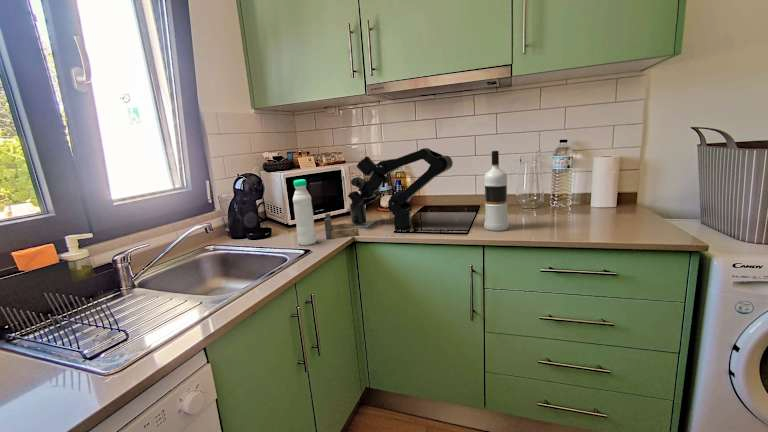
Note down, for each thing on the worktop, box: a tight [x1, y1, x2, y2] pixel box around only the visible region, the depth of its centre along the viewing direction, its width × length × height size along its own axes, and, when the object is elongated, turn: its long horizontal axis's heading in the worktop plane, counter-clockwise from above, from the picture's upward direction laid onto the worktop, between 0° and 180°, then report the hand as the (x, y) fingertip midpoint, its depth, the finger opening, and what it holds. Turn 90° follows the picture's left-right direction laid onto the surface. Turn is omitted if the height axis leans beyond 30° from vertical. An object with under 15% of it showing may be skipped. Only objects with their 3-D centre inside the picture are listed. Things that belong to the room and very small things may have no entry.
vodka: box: [483, 150, 510, 232], centre depth 142 cm, size 9×9×30 cm
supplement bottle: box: [349, 202, 367, 224], centre depth 169 cm, size 7×7×12 cm
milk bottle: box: [292, 178, 317, 246], centre depth 144 cm, size 7×7×25 cm
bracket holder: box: [323, 212, 358, 240], centre depth 156 cm, size 12×13×8 cm
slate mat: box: [349, 220, 377, 229], centre depth 170 cm, size 12×12×1 cm
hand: (355, 208), depth 170 cm, fingers closed on supplement bottle, 7 cm apart
